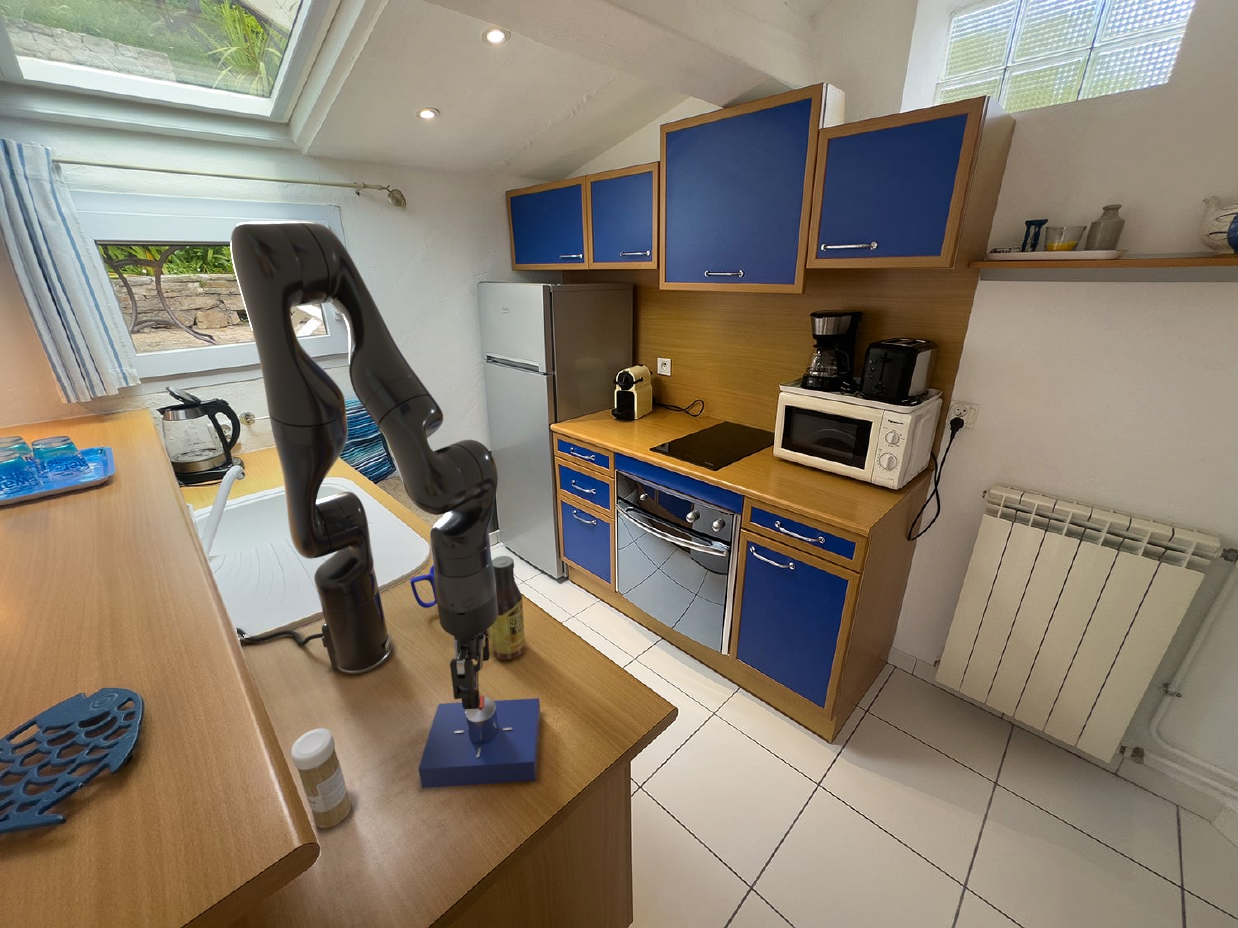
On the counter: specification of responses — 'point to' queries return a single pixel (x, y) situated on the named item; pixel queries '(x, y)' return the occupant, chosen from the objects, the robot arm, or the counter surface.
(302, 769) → the sprinkles bottle
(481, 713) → the silver pointer knob
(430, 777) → the blue knob base block
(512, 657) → the sauce bottle
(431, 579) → the mug
